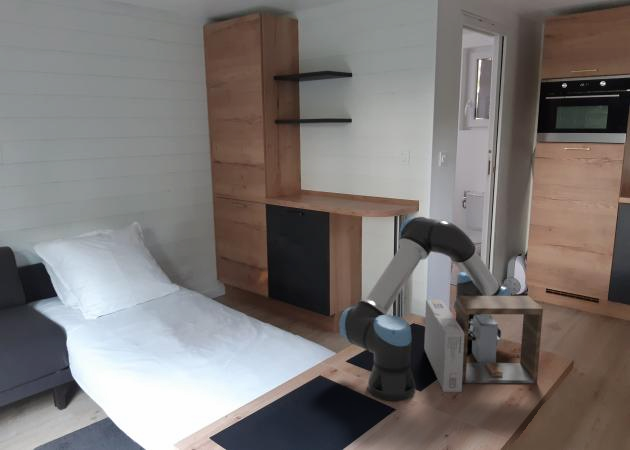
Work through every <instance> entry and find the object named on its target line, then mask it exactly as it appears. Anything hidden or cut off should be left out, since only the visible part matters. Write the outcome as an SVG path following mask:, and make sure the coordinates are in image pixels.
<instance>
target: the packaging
mask: <svg viewBox="0 0 630 450" xmlns="http://www.w3.org/2000/svg"><path fill="white" fill-rule="evenodd" d="M424 315H425V322H424V323H425V325H424V348H423V349H424V352H425V354H426V357H427V358H428V361H429V363H430V366H431V368H432V370H433V372H434V374H435V377H436V378H437V381H438V384H439V385H440V388H441V390H442V392H446V393H447V392H450V393H451V392H462V391H463V389H462V387H463V383H462V372H463V351H464V331H463V330H462V328H461V327H460V325H459V324H458V323H457V321H456V317H454V315H453V314H452V312H451V311H450V309H449V308H448V306H447V305H446V303H445V302H444V301H443V300H442V299H426V300H425V314H424Z"/></svg>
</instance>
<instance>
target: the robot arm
mask: <svg viewBox="0 0 630 450" xmlns="http://www.w3.org/2000/svg"><path fill="white" fill-rule="evenodd" d="M398 238H399V240H398V245H399V247H398V250H397V251H396V253H395V254H394V255H393V257H392V259H391V261H390V262H389V263H388V265H387V267H386V268H385V269H384V271H383V273H382V274H381V276H380V277H379V279H378V280H377V282H376V283H375V285H374V286H373V288H372V290H371V291H370V293H369V294H368V295H367V296H366V298H364V299H360V300H359V301H358V302H357V304H356V305H355V306H349V307H347V308H346V309H345V310H344V311H343V312H342V314H341V315H340V319H339V324H338V325H339V331H340V332H339V333H340V335H341V337H342V338H343V339H344V340H345V341H347V342H349V343H350V344H351V345H355V346H358V347H359V348H362V349H363V350H366V351H368V352H370V353H372V354H373V366H372V370H371V372H370V374H369V377H368V381H367V388H368V391H369V392H370V394H371V395H372V396H374V397H376V398H378V399H379V400H384V401H388V402H389V401H390V402H399V401H404V400H405V401H406V400H407V399H410V398H412V397H413V396H414V395H415V393H416V382H415V378H414V375H413V372H412V370H411V369H412V368H411V356H412V355H411V354H412V353H411V352H412V339H413V338H412V329H411V326H410V323H409V322H408V321H407V320H406V319H405V318H402V317H400V316H397V315H391V314H388V312H389V310H390V309H391V307H392V305H393V304H394V303H395V301H396V299H397V298H398V296H399V294H400V293H401V291H402V290H403V289H404V286H405V285H406V284H407V282H408V280H409V279H410V277H411V275H413V272H414V270H415V269H416V268H417V266H418V265H419V263H420V261H424V260H426V259H427V258H428V257H429V255H430V253H431V252H433V253H435V254H436V253H438V254H442V255H445V256H447V257H449V258H450V259H451V261H453V262H454V263H457V264H458V265H459V266H460V268H461V269H462V271H461V272H459V273H457V276H456V292H455V293H456V295H455V299H454V301H453V309H454V311H455V313H456V301H457V296H512V294H511V293H512V292H511V289H510V288H508V287H506V286H504V285H500V283H498V281H497V279H496V277H495V276H494V275H493V274H492V272H491V271H490V269H489V268H488V266H487V265H486V264H485V262H484V261H483V260H482V258H481V256H480V255H479V254H478V253H477V251H476V245H475V243H474V242H473V241H472V239H471V238H470V237H469V235H467V234H466V232H464V231H463V230H462V229H461V228H460V227H459V226H457V225H456V224H454V223H452V222H450V221H448V220H440V219H433V218H427V217H424V216H410V217H408V218H407V219H405V220H404V221H403V222H402V224H401V225H400V228H399V233H398ZM474 315H482V314H469V328H468V330H469V331H468V341H469V340H470V341H472V340H473V341H475V343H476V344H477V346H480V340H481V339H480V338H479V336H478V335H477V333H476V332H473V319H474ZM501 337H502V330H501V329H500V328H499V327H498V333H497V347H500V344H501V343H500V340H501V339H500V338H501Z"/></svg>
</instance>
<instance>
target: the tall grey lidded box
mask: <svg viewBox="0 0 630 450" xmlns="http://www.w3.org/2000/svg"><path fill="white" fill-rule="evenodd" d="M498 328H499V323H498V322H497V321H496V320H495V318H494V317H493V316H492V314H481V315H474V319H473V332H476V333H477V335H478V336H479V338H480V339H481V340H480V346H477V344H476V343H475V341H473V340H471V342H472V343H471V354H472V355H473V357H474V358H475V360H476V363H497V361H496V360H497V347H498V346H497V333H498Z"/></svg>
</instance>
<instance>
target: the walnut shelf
mask: <svg viewBox="0 0 630 450" xmlns="http://www.w3.org/2000/svg"><path fill="white" fill-rule="evenodd" d="M543 310H544V308H543V307H542V306H541V305H539V303H537V302H536V301H535V300H534V299H533V298H531V296H530V295H511V296H457V301H456V312H455V320H456V321H457V323H458V324H459V325H460V327H461V328H462V330H463V331H464V351H463V372H462V384H464V383H466V384H468V383H470V384H471V383H476V384H477V383H478V384H479V383H481V384H482V383H483V384H489V383H490V384H495V383H496V384H538V374H539V373H538V372H539V362H540V361H539V360H540V348H541V338H542V337H541V336H542V327H543V326H542V323H543V312H544V311H543ZM469 314H481V315H523V319H522V331H521V347H520V358H519V362H517V363H516V362H496V363H478V362H468V361H467V360H468V347H469V346H468V344H469V336H468V332H469V329H468V328H469Z"/></svg>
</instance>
